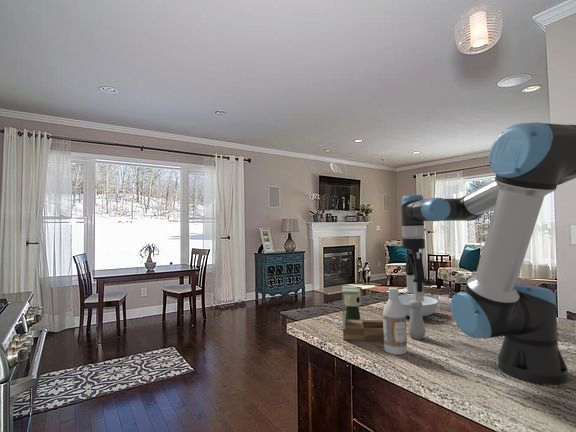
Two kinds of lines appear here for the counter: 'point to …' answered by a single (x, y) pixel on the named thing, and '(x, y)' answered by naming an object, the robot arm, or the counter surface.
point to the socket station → (360, 323)
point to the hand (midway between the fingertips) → (414, 296)
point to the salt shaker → (416, 320)
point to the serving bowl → (427, 305)
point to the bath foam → (394, 325)
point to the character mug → (353, 306)
